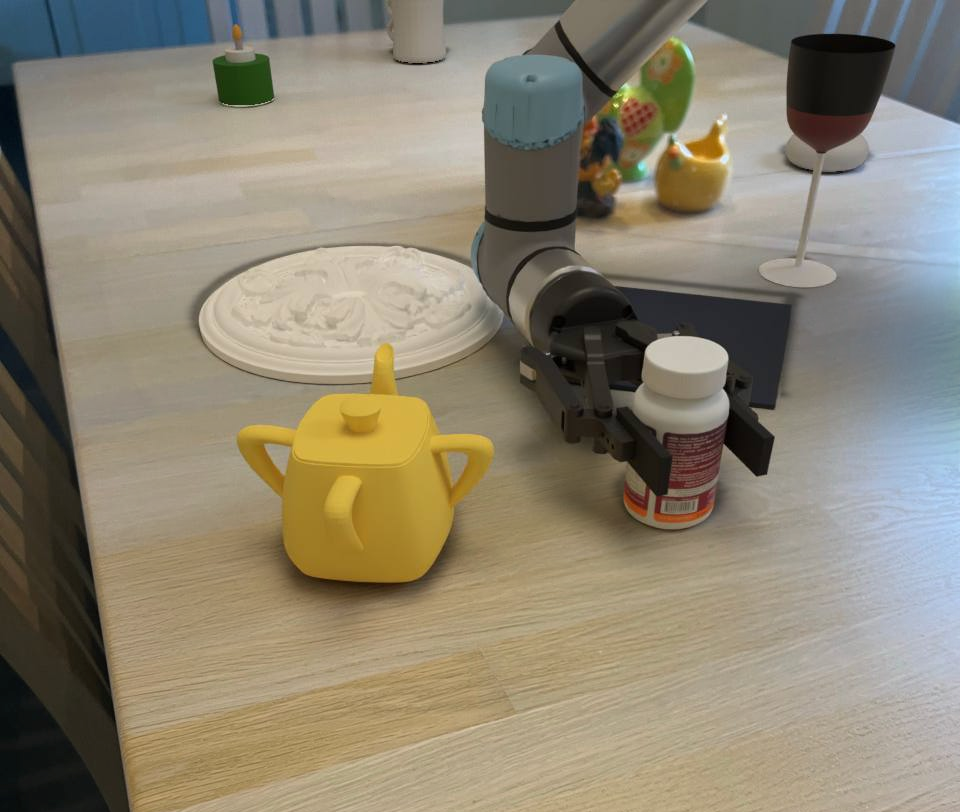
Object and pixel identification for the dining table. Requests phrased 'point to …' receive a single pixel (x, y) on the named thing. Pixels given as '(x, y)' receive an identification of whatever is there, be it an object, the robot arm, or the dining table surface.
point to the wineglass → (828, 120)
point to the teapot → (366, 482)
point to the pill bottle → (681, 429)
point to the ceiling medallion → (348, 314)
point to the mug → (417, 30)
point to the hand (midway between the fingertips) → (715, 466)
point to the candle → (243, 74)
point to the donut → (828, 154)
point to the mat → (722, 332)
